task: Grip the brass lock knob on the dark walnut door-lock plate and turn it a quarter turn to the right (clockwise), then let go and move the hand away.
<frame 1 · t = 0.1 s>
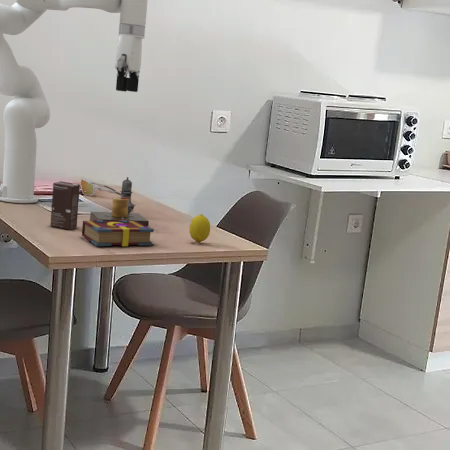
hand: (126, 91, 222), 37 cm above the table, tool pointing down, fingers open, 9 cm apart
lock plate: (118, 226, 211), on the table
lemon: (198, 244, 201), on the table
box: (63, 228, 202), on the table
lock knob: (120, 206, 210), point 6 cm above the table, hinge at 0.0°
decorative book: (118, 242, 192), on the table
grey textured elongated piece: (124, 216, 228), on the table
sunglasses: (100, 194, 264), on the table
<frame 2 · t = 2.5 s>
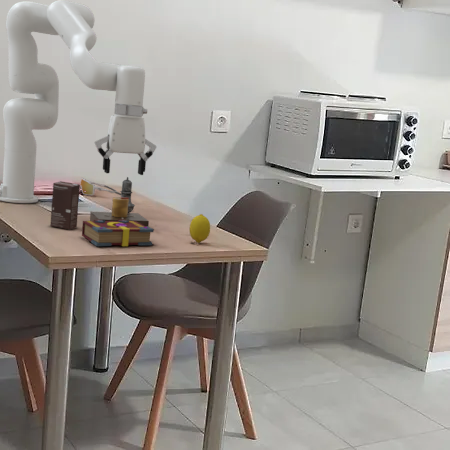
hand: (123, 173, 209), 15 cm above the table, tool pointing down, fingers open, 9 cm apart
nothing on the table moved.
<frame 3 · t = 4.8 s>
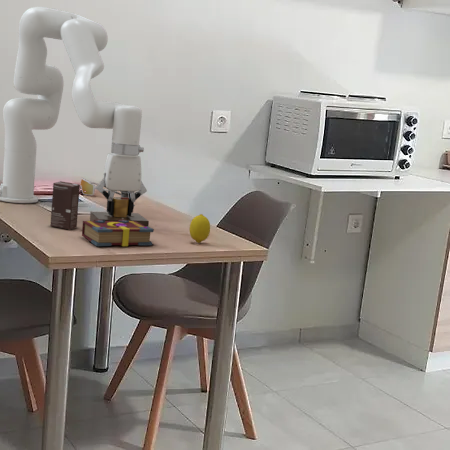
hand: (119, 214, 211), 4 cm above the table, tool pointing down, fingers closed on lock knob, 4 cm apart
lock knob: (120, 206, 210), point 6 cm above the table, hinge at 0.1°, touching gripper
everything else where it was.
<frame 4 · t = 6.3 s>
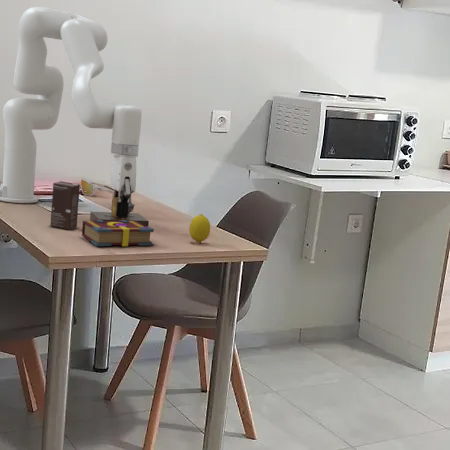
hand: (119, 214, 211), 4 cm above the table, tool pointing down, fingers closed on lock knob, 4 cm apart
lock knob: (120, 206, 210), point 6 cm above the table, hinge at -91.9°, touching gripper
everything else where it was.
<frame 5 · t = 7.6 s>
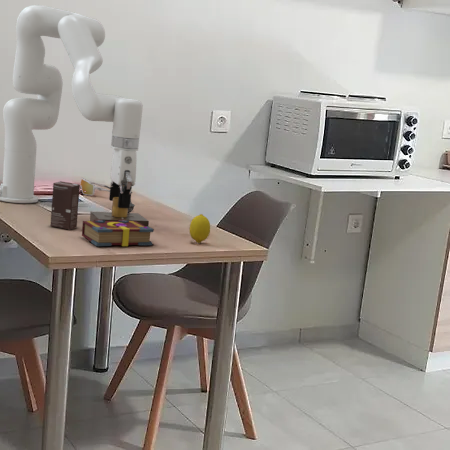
hand: (119, 204, 210), 6 cm above the table, tool pointing down, fingers open, 9 cm apart
lock knob: (120, 206, 210), point 6 cm above the table, hinge at -93.0°
everything else where it was.
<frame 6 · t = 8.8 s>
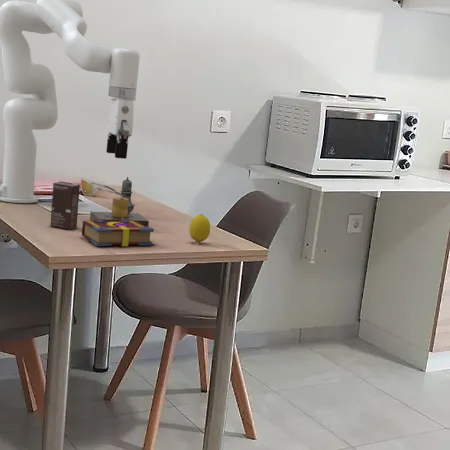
hand: (116, 155, 210), 20 cm above the table, tool pointing down, fingers open, 9 cm apart
nothing on the table moved.
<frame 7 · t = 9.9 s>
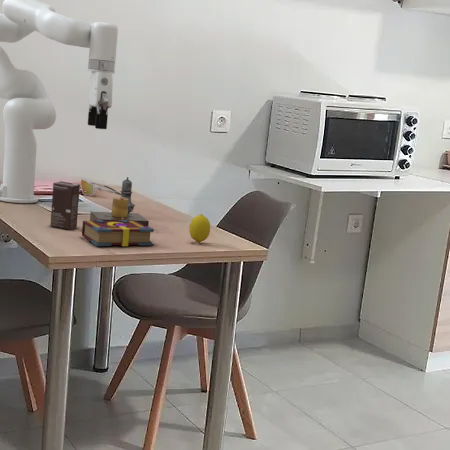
hand: (96, 127, 217), 26 cm above the table, tool pointing down, fingers open, 9 cm apart
nothing on the table moved.
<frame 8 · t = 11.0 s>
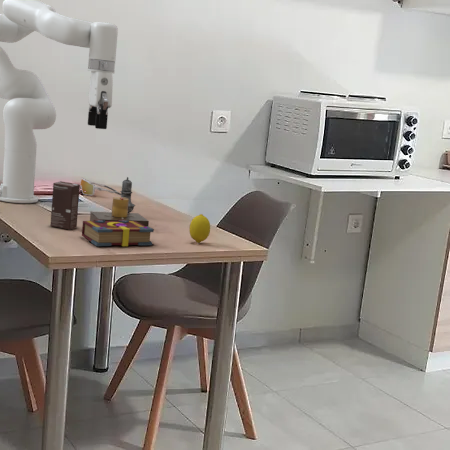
hand: (96, 127, 217), 26 cm above the table, tool pointing down, fingers open, 9 cm apart
nothing on the table moved.
at the end: lock knob at -93° (first picture: +0°); the gripper is holding nothing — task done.
